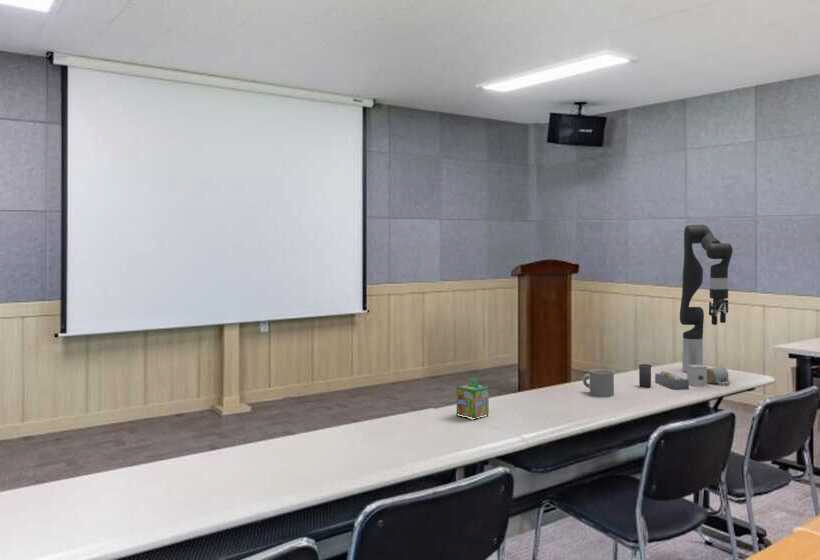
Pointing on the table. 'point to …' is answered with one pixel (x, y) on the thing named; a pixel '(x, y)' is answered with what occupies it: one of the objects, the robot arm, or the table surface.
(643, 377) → the dark grey upright block
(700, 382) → the junction box
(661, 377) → the breaker strip
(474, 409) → the chalk box
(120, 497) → the table surface
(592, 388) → the coffee mug
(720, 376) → the ceramic mug
